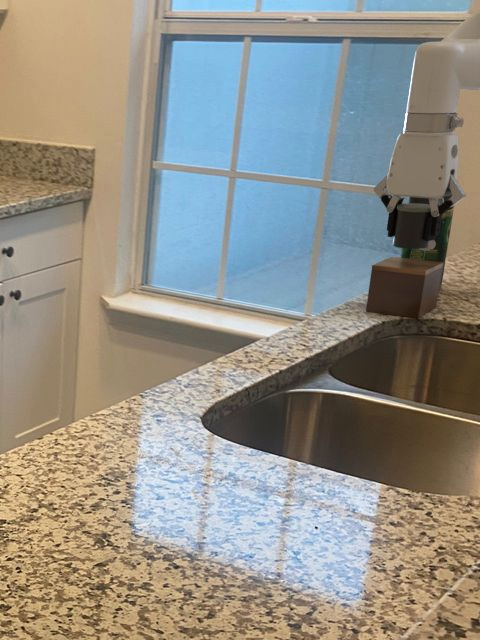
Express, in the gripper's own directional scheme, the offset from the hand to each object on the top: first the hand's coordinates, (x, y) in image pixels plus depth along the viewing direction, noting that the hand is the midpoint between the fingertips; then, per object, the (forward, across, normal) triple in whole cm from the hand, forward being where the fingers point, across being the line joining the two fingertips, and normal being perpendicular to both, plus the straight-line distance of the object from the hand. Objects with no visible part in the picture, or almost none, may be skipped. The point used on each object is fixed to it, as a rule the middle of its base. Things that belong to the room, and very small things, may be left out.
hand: (411, 236), depth 174 cm
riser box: (+13, 0, 0) cm, 13 cm away
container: (+2, 0, 0) cm, 2 cm away
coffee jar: (+13, +5, -19) cm, 23 cm away
